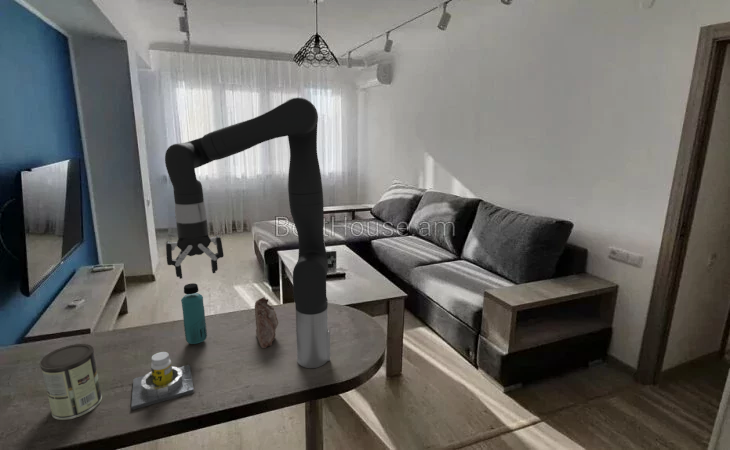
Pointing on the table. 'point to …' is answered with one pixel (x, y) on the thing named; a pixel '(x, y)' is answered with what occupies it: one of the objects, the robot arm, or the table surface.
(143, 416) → the table surface
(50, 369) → the coffee can
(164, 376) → the supplement bottle
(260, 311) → the stone
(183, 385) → the ring base
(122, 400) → the table surface
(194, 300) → the beverage bottle
